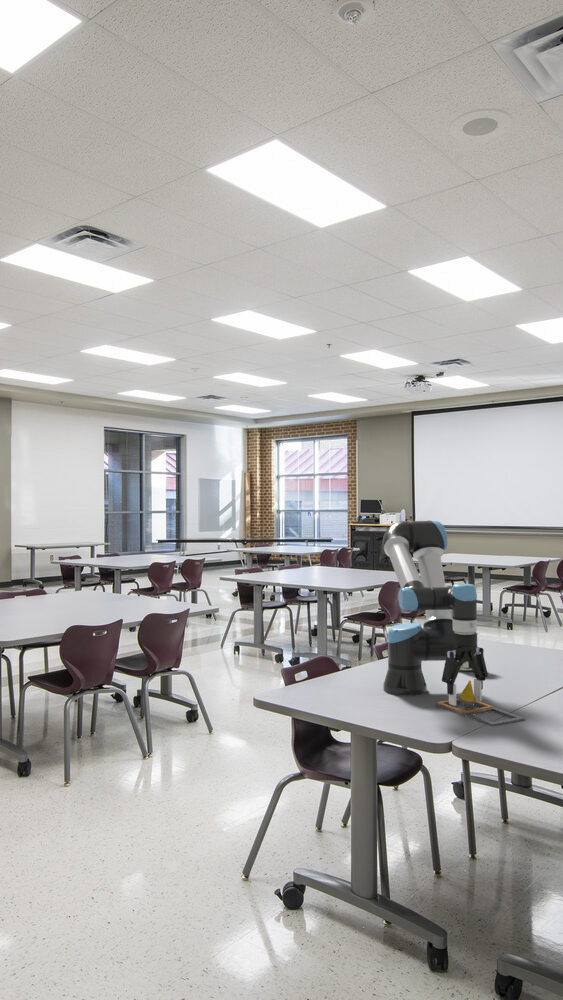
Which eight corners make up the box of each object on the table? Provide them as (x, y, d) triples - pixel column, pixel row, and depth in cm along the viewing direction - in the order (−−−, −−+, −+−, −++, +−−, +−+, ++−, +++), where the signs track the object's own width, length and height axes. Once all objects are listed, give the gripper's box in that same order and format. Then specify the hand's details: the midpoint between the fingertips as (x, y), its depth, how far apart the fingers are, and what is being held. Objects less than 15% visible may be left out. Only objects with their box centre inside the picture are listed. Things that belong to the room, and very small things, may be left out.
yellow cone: (461, 702, 220) (465, 674, 218) (476, 708, 217) (481, 680, 215) (453, 707, 216) (458, 679, 214) (469, 714, 213) (474, 685, 210)
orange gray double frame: (436, 706, 219) (436, 702, 219) (466, 700, 225) (466, 696, 225) (492, 727, 197) (492, 723, 197) (524, 721, 203) (524, 717, 203)
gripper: (445, 637, 208) (445, 710, 208) (499, 631, 219) (500, 700, 218) (429, 633, 215) (430, 704, 215) (482, 627, 225) (483, 694, 225)
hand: (465, 702), depth 216 cm, fingers open, 10 cm apart
